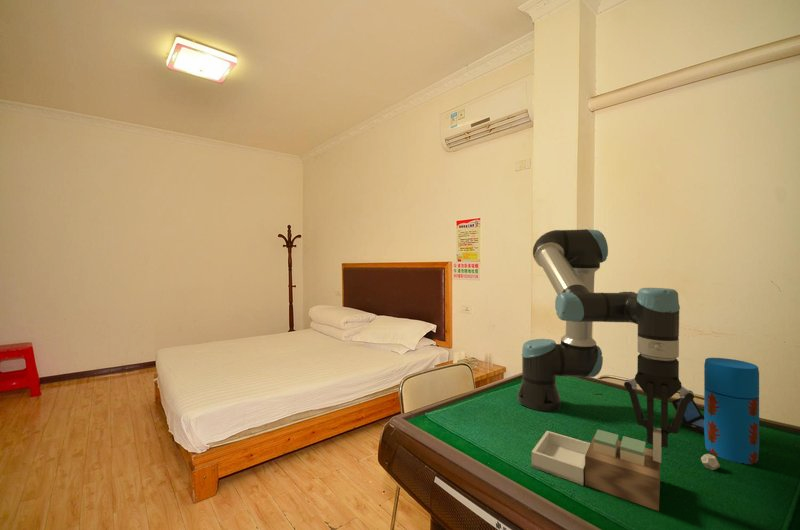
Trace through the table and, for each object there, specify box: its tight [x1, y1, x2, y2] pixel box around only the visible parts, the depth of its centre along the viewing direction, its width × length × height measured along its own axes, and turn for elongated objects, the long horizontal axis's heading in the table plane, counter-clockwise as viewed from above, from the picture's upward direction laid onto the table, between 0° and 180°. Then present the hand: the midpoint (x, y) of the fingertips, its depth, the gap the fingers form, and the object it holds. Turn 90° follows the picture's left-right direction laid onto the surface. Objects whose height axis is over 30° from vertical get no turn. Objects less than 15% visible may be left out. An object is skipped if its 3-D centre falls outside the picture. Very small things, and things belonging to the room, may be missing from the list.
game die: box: [700, 453, 721, 471], centre depth 88 cm, size 4×4×3 cm
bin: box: [531, 430, 591, 486], centre depth 90 cm, size 12×14×4 cm
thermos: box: [703, 357, 760, 465], centre depth 94 cm, size 11×11×25 cm
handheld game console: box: [671, 397, 704, 435], centre depth 111 cm, size 12×11×7 cm
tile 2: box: [620, 435, 646, 466], centre depth 81 cm, size 4×6×3 cm
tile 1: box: [594, 429, 619, 457], centre depth 84 cm, size 4×6×3 cm
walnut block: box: [584, 433, 661, 512], centre depth 82 cm, size 14×13×7 cm
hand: (657, 458), depth 78 cm, fingers closed
